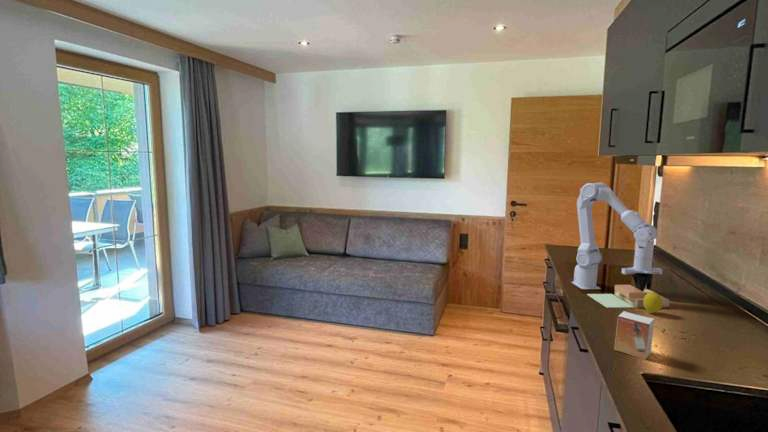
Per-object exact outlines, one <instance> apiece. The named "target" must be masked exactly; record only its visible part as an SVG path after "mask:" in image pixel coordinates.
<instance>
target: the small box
mask: <svg viewBox="0 0 768 432" xmlns="http://www.w3.org/2000/svg"><path fill="white" fill-rule="evenodd" d="M655 321H656V320H655V318H653V317H648V316H644V315H639V314H635V313H632V312H628V311H624V310H623V311H622V312H621V313H619V314H618V316H617V323H616V330H615V341H614V349H613V350H614V351H617V352H620V353H623V354H627V355H629V356H633V357H636V358H639V359H642V360H647V358H648V357H649V356H650V354H651V352H652V343H653V337H654V336H653V335H654V329H655Z"/></svg>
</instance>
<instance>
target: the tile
mask: <svg viewBox="0 0 768 432" xmlns="http://www.w3.org/2000/svg"><path fill="white" fill-rule="evenodd" d="M615 290H616V291H618V292H619V293H621V294H623V295H625V296H627V297H628V298H644V297H645V292H643V291H641V290H639V289H637V288H636V286H633V285H631V284H614V291H615Z"/></svg>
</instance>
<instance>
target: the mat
mask: <svg viewBox="0 0 768 432" xmlns="http://www.w3.org/2000/svg"><path fill="white" fill-rule="evenodd" d="M586 296H588V297H590V298H591V299H593V300H594V301H596V302H597V303H599V304H600V305H602V306H604V307H605V308H607V309H635V307H634V306H633V305H631V304H629V303H627V302H626V301H624V300H622V299H621V298H619V297H617V296H615V295H614V294H613V293H587V294H586Z"/></svg>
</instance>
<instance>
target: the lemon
mask: <svg viewBox="0 0 768 432" xmlns="http://www.w3.org/2000/svg"><path fill="white" fill-rule="evenodd" d="M658 294H659V293H657V292H656V291H652V292H650V293H648V294H646V295H645V297H644V300H643V305H644V307H645V308H644V309H645V310H646V311H647V312H649V313H650V314H654V313H657V312H659V311H661V309H662V308H661V307H662V299H661V297H660V294H659V295H658Z"/></svg>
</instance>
